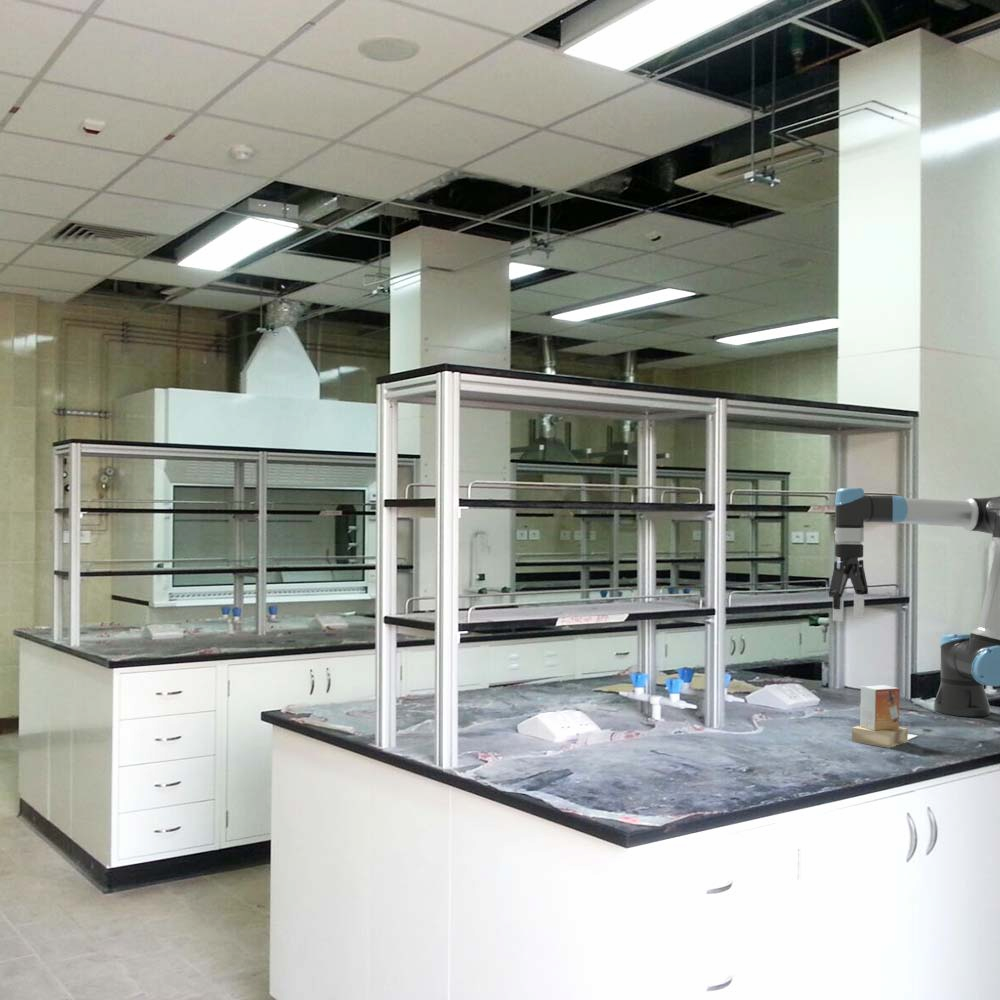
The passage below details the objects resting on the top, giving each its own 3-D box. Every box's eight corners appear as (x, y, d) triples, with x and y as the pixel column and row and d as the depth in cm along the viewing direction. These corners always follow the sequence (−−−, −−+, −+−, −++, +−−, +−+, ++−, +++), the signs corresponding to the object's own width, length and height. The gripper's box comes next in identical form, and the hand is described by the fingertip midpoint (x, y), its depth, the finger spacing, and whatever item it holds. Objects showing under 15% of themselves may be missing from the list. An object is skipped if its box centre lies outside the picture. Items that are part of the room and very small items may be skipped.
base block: (870, 737, 276) (870, 722, 276) (907, 744, 268) (907, 728, 268) (851, 743, 269) (852, 727, 269) (889, 750, 262) (889, 734, 262)
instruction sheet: (880, 730, 282) (880, 729, 282) (917, 736, 275) (917, 735, 275) (869, 734, 277) (869, 733, 277) (907, 740, 270) (907, 739, 270)
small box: (874, 731, 265) (875, 689, 265) (859, 726, 270) (860, 685, 270) (899, 729, 268) (900, 687, 268) (884, 724, 273) (884, 684, 273)
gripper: (855, 541, 304) (854, 614, 304) (816, 543, 286) (815, 621, 286) (880, 542, 299) (879, 616, 299) (842, 544, 281) (842, 623, 281)
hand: (848, 619), depth 293 cm, fingers open, 13 cm apart
